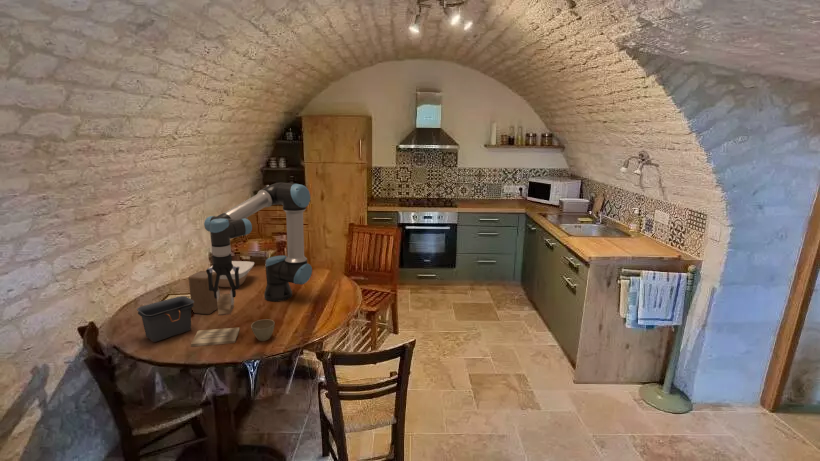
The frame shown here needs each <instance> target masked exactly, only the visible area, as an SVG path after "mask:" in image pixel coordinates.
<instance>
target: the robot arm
mask: <svg viewBox="0 0 820 461" xmlns="http://www.w3.org/2000/svg"><path fill="white" fill-rule="evenodd" d="M310 202H311V193H310V191H309V189H308V187H307V186H305V185H303V184H299V183H289V182H275V183H273V184H270V185H268V186H266V187H264V188H262V189H260V190H259V191H257V194H255V195H253V196H251V197H250V198H248V199H246V200H244V201H242V202H240V203H239V204H237V205H235V206H233V207H231V208H230V209H228V210H226V211H224V212H222V213H220V214H218V215H211V216H207V217H206V218H205V220H204V223H203V226H204V229H205V230H206V232H207V231H208V232H209V234H210V243H211V254H212V265H213V267H211V266H210V267H211V268H209V267H207V269H206V270H205V271H206V272H207V274H208V284H209V291H213V292H214V298H217V301H218V299H219V298H220V296H221V293H220V292H221V291H220V289H219V290H217V289H218V288H219V286H218V284H219V279H220V276H221V275H226V277H227V279H228V281H229V284H230V286H231V287H230V291H229V294H230V296H231V305H233V304H234V305H235V298H236V296H237V292H236V291H237V290H239V289H240V287H241V285H240V283H239V272H238V271H239V267H235V266H233V265H232V261H233V260H232V249H231V239H235V238H239V237H244V236H247V235H249V234H251V232H252V230H253V223H251V222H252V221H250V220H249V219H248V218H249V217H250V216H252V215H254V214H256V213H257V212H258V211H261V210H263V209H264V208H269V207H271V206H273V205H282V211H284V212H285V217H286V218H285V219H286V243H287V245H286V246H287V255H276V256H271V257H269V258H266V260H265V266H264V267H265V276H266V286H265V289H264V290H265V291H264V292H263V294H264V295H263V296H264V300H266V301H267V302H283V301H286V300H289V299H290V298H292V297H293V291H292V288H291V286H290V283H291V284H294V285H304V284H306V283H308V282H309V280H310V279H311V277H312V273H313V268H312V265H311V264H309V263H308V258H307V257H306V256H305V237H304V236H305V235H304V212H305V211H306V210H307V208H306V207H308V206H309V204H310ZM232 269H233V270H234V272H235V283H236V286H235V285H234V282H233V279H232V277H231V273H230V271H231V270H232ZM213 270H214V271H215V272H216V273H217V275H216V281H215V286H214V287H213V279H212V272H213ZM217 306H218V305H217Z"/></svg>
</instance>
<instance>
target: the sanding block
mask: <svg viewBox="0 0 820 461" xmlns="http://www.w3.org/2000/svg"><path fill="white" fill-rule="evenodd" d="M217 305H218V309H217V314H218V316H219V317H220V316H231V314H232V313H233V310H234V308H235V303H234V304H233V305H231V296H230V293H220V298H219V299H218V301H217Z"/></svg>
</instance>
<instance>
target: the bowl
mask: <svg viewBox="0 0 820 461" xmlns="http://www.w3.org/2000/svg"><path fill="white" fill-rule="evenodd" d="M232 265H233V266H235V267H239V271H238V272H239V283H240V286H241V285H243V284H244V283H245V281H246V279H247V276H248V274H249V272H250V271H251V270H252V268H253V267H254V266H255V262H254V261H246V260H243V261H242V260H232ZM211 267H213V264H212V265H211V266H210V267H208V268H211ZM213 272H215V271H214V270H213ZM230 273H231V277H232V279H233V282H234V285H235V286H236V283H235V272H234V270H233V269H232V270H231V271H230ZM219 287H220V288H231V286H230V284H229V281H228V279H227V277H226V275H221V276H220V279H219V284H218V288H219Z"/></svg>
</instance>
